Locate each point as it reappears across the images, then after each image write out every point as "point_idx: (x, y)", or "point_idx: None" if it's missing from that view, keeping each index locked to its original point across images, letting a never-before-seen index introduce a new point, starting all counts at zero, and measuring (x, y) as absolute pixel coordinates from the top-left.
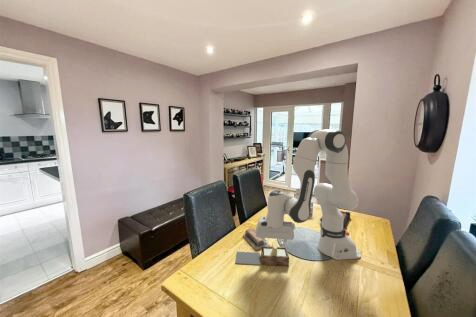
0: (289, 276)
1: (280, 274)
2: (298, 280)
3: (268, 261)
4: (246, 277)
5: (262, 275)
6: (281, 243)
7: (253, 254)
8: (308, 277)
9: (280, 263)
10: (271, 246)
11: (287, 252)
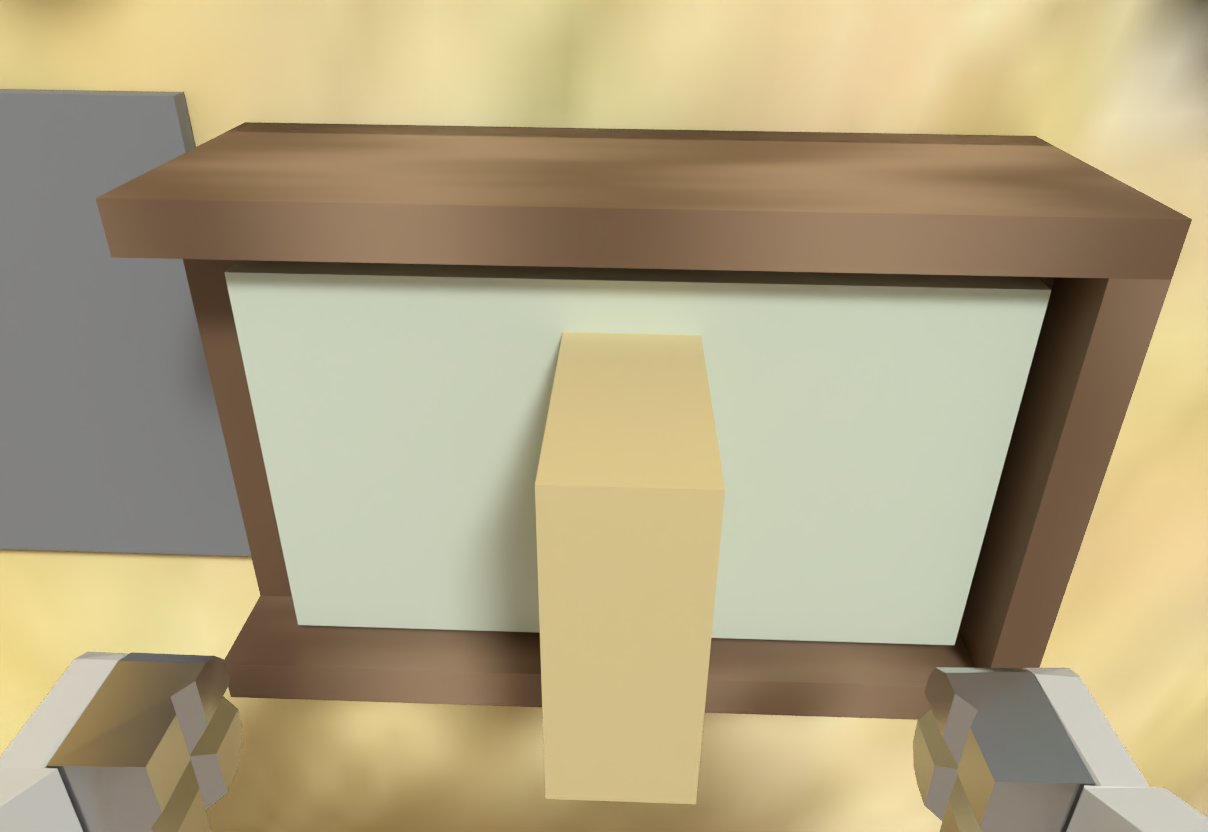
0: (848, 764)
1: None
2: None
3: None
4: None
5: (363, 759)
6: (961, 780)
7: (9, 199)
8: (1195, 773)
9: None
10: (529, 206)
11: (1072, 532)
